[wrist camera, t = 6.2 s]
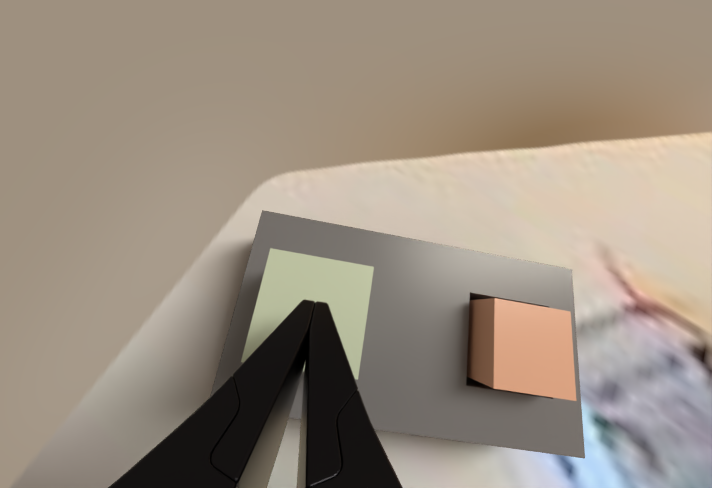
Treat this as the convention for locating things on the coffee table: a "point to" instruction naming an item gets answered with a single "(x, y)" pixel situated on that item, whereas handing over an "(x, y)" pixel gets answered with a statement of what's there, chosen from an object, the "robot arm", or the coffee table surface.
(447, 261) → the keypad
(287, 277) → the sage key
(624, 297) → the coffee table surface
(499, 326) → the terracotta key
